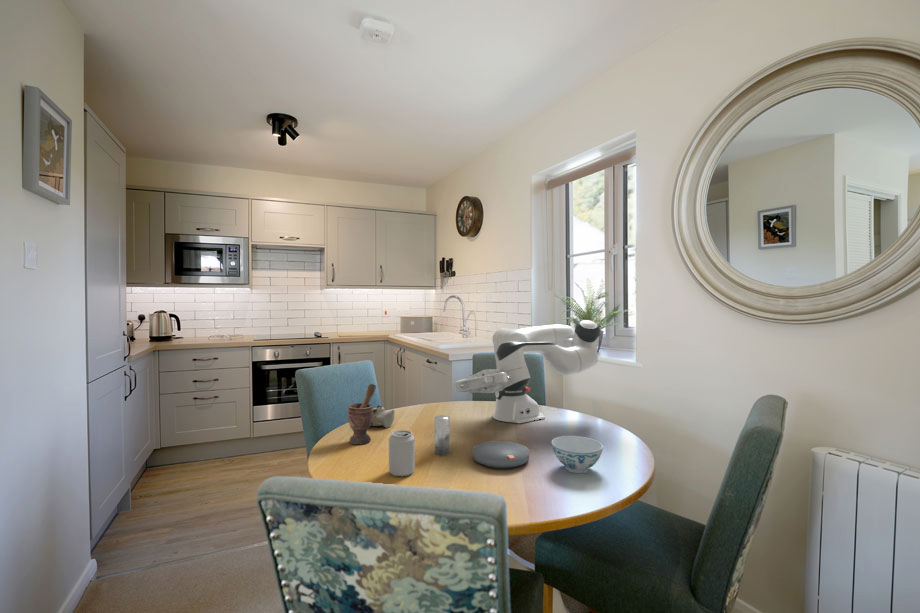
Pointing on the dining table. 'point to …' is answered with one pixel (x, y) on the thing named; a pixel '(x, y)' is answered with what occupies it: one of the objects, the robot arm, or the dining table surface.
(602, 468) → the dining table surface
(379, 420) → the ceramic sculpture
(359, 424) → the mortar and pestle
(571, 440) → the chinaware
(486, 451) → the disc
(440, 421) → the clear drinking glass
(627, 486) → the dining table surface
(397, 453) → the can
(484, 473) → the dining table surface
